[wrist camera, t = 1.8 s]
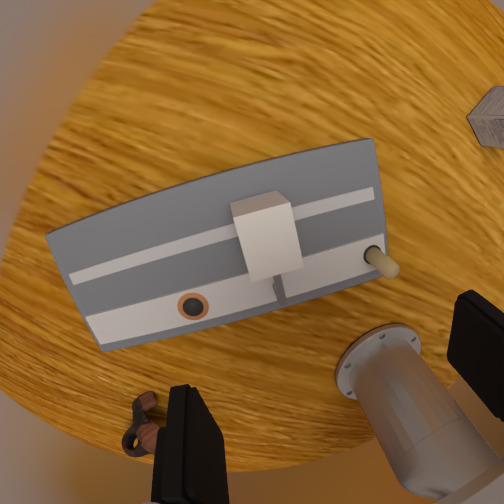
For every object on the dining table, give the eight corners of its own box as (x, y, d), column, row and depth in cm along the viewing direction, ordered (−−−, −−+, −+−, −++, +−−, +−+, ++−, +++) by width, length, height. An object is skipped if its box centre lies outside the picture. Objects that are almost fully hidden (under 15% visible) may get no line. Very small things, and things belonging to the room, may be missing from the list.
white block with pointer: (297, 282, 29) (312, 309, 24) (255, 294, 29) (263, 323, 24) (276, 190, 25) (290, 202, 21) (229, 202, 25) (233, 217, 21)
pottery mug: (164, 375, 34) (194, 432, 29) (197, 394, 41) (224, 440, 36) (97, 417, 32) (117, 472, 27) (137, 430, 39) (158, 475, 34)
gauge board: (382, 268, 32) (410, 292, 26) (106, 344, 31) (92, 377, 26) (366, 138, 27) (398, 140, 21) (51, 231, 26) (22, 251, 21)
